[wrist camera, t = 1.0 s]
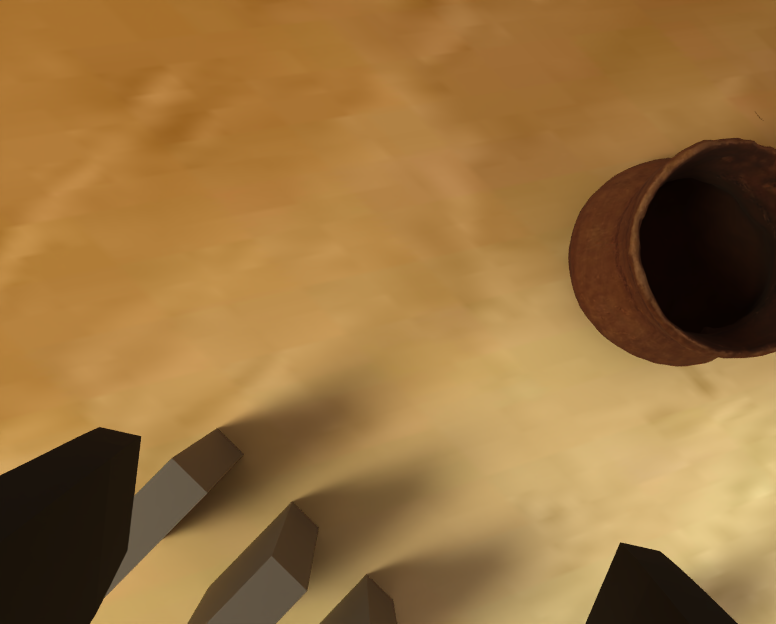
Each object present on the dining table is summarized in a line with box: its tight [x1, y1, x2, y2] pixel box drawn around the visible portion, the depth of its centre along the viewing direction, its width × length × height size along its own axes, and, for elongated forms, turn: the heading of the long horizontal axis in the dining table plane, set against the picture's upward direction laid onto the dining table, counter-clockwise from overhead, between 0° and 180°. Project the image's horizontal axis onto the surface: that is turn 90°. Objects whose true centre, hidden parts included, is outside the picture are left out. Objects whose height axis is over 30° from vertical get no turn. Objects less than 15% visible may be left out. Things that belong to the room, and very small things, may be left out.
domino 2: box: [188, 502, 319, 624], centre depth 24 cm, size 2×5×7 cm, turn 135°
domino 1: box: [104, 429, 244, 598], centre depth 24 cm, size 2×5×7 cm, turn 136°
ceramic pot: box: [568, 113, 776, 366], centre depth 26 cm, size 18×18×7 cm
